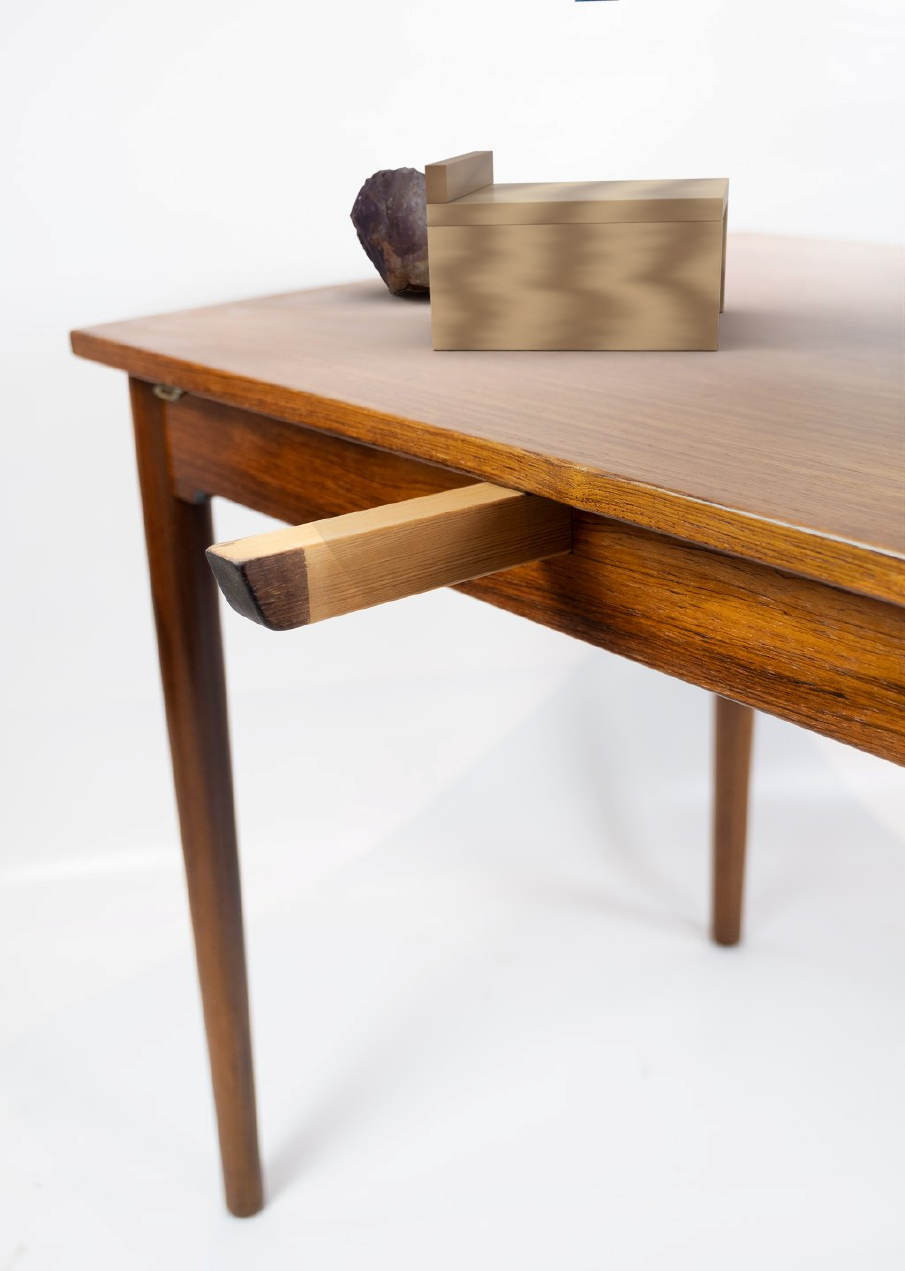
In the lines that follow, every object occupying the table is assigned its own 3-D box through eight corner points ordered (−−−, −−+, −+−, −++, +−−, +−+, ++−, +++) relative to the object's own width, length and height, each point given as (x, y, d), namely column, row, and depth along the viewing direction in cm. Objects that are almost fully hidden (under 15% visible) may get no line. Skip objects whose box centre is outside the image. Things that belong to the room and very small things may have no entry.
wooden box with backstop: (723, 309, 85) (730, 143, 82) (717, 350, 73) (724, 156, 69) (479, 310, 89) (474, 151, 85) (432, 350, 76) (424, 165, 72)
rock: (491, 298, 102) (361, 297, 103) (493, 180, 100) (360, 181, 101) (480, 296, 91) (334, 295, 91) (481, 163, 89) (332, 163, 89)
